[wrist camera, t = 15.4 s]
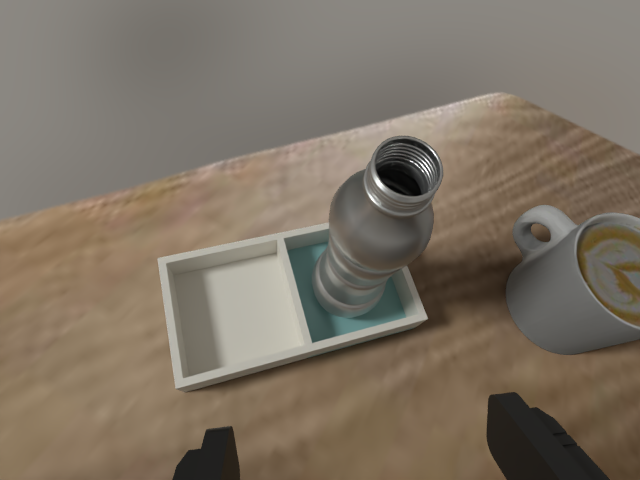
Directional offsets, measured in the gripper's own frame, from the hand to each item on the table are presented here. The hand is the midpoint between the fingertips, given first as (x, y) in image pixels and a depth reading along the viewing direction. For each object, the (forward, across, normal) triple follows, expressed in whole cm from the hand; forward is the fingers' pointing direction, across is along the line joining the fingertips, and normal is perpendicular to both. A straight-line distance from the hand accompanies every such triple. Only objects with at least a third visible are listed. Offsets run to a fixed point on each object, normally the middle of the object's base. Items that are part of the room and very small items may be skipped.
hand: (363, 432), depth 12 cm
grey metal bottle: (+25, -2, +6) cm, 26 cm away
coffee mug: (+26, -23, +9) cm, 36 cm away
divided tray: (+24, +2, +6) cm, 25 cm away
